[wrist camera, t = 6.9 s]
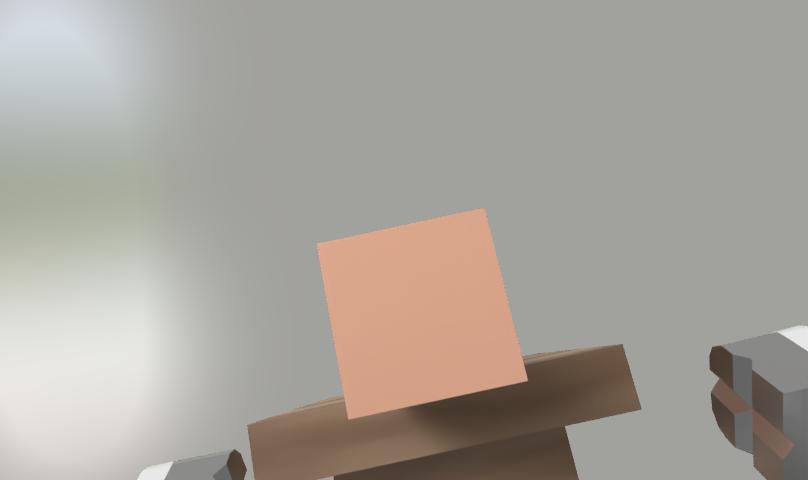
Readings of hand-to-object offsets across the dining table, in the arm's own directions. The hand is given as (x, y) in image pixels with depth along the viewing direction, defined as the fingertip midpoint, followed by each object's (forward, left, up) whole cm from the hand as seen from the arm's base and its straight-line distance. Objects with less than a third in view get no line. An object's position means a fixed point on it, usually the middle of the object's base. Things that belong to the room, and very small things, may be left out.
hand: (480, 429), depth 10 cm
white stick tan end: (+9, +6, +1) cm, 11 cm away
